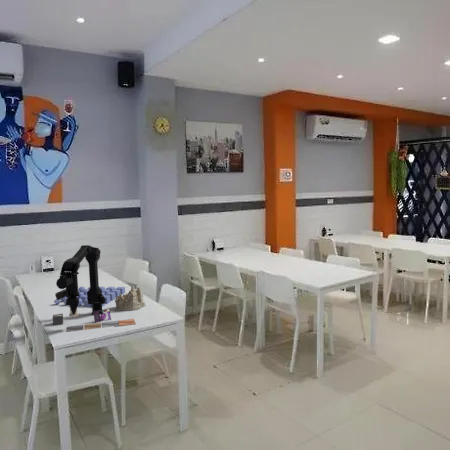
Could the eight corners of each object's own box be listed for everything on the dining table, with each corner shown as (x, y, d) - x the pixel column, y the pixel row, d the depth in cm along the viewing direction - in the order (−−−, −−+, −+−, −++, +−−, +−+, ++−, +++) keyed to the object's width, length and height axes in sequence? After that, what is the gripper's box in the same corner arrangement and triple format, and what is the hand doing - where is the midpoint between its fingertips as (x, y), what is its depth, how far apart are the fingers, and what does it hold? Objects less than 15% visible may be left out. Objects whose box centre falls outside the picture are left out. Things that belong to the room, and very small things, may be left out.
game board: (66, 327, 229) (66, 326, 229) (133, 319, 240) (133, 318, 239) (66, 332, 221) (65, 332, 221) (135, 324, 231) (135, 323, 231)
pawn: (69, 314, 227) (68, 302, 226) (78, 313, 228) (78, 301, 227) (69, 317, 222) (68, 304, 221) (78, 316, 224) (77, 303, 223)
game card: (93, 311, 235) (109, 308, 239) (91, 312, 239) (106, 309, 244) (95, 323, 233) (111, 320, 238) (92, 324, 238) (108, 321, 242)
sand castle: (149, 304, 267) (146, 281, 266) (131, 313, 253) (128, 288, 252) (130, 303, 275) (127, 280, 274) (112, 311, 261) (109, 287, 260)
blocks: (101, 308, 265) (100, 300, 264) (51, 306, 272) (51, 299, 271) (125, 293, 299) (125, 286, 298) (80, 292, 306) (80, 285, 305)
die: (53, 323, 236) (53, 314, 236) (63, 322, 238) (62, 313, 237) (53, 326, 231) (52, 317, 231) (62, 325, 233) (62, 315, 232)
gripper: (56, 282, 230) (58, 310, 231) (54, 290, 212) (56, 320, 214) (78, 280, 233) (80, 307, 235) (77, 287, 216) (79, 317, 217)
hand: (73, 313), depth 225 cm, fingers closed on pawn, 4 cm apart
